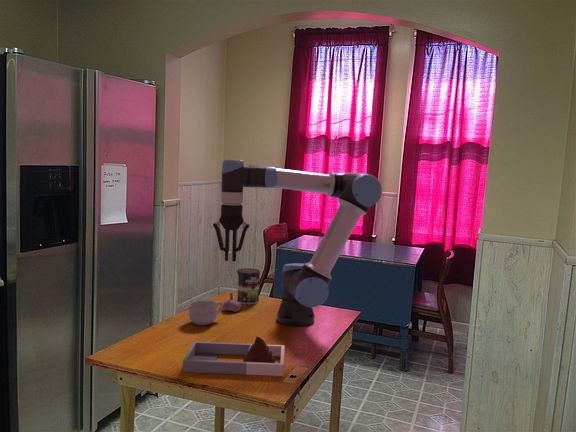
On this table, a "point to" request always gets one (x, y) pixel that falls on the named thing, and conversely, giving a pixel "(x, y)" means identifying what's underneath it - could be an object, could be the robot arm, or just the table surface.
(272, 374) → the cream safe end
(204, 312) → the teacup
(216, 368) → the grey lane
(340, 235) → the robot arm
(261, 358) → the poop emoji
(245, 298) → the coffee can
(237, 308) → the garlic bulb
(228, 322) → the table surface
